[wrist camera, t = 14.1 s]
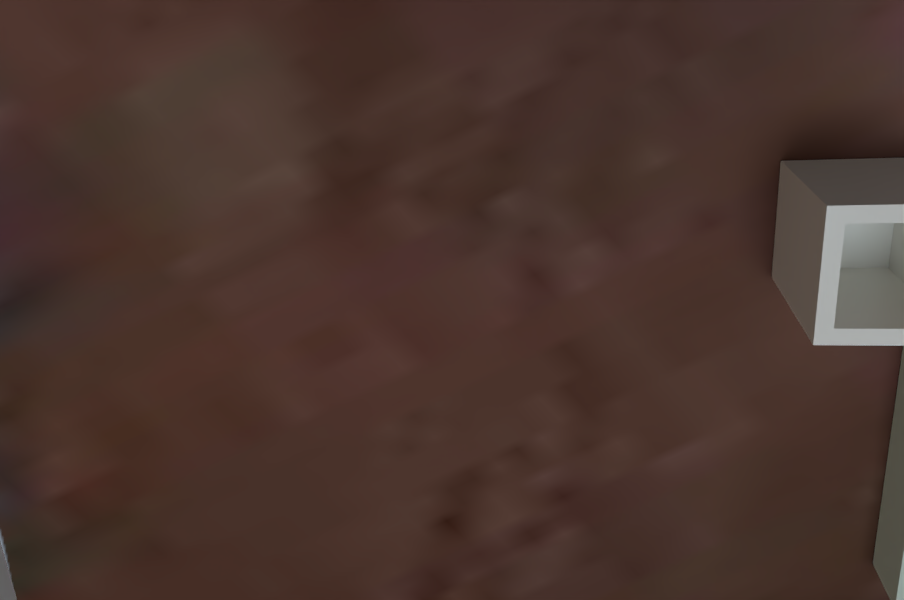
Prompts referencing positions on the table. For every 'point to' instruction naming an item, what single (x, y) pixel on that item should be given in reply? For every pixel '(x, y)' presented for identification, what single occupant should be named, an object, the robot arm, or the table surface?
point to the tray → (893, 506)
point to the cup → (842, 249)
